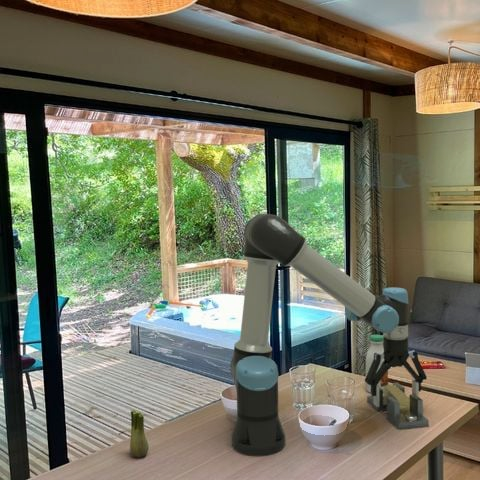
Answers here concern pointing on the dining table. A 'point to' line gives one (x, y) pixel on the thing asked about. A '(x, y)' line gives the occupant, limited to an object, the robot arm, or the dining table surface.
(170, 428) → the dining table surface
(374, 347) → the milk bottle
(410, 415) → the bracket
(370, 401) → the chain end far
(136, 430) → the fennel bulb
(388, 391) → the link bar
